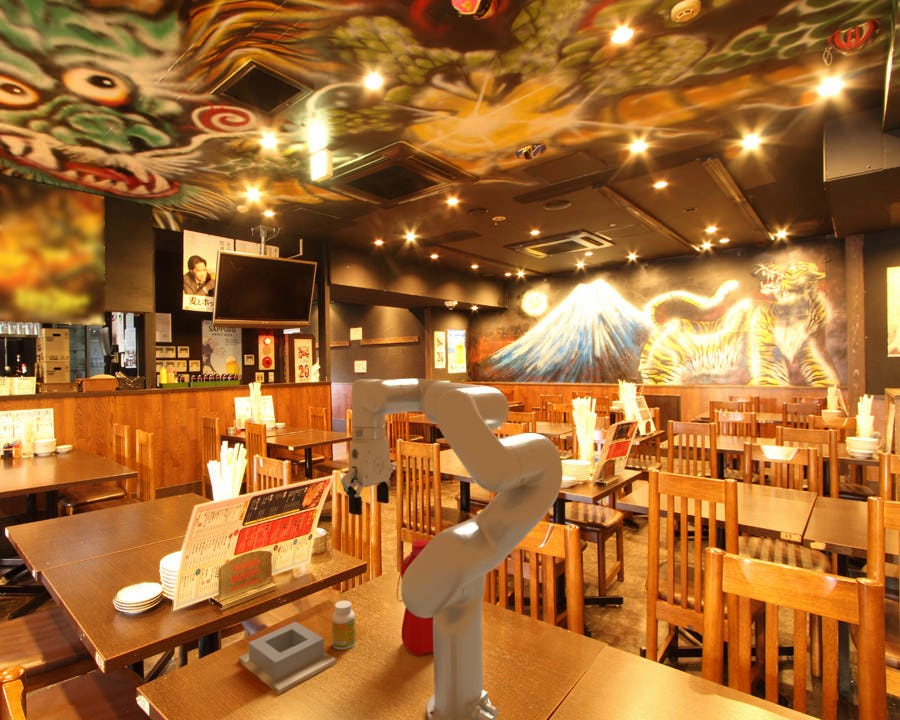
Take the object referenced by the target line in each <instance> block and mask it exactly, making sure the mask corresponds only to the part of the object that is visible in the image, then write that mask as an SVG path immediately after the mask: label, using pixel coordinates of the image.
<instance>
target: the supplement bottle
mask: <svg viewBox="0 0 900 720" xmlns="http://www.w3.org/2000/svg"><path fill="white" fill-rule="evenodd" d="M331 618H332V619H331V620H332V622H331V624H332V647H333V648H334V649H336V650H339V651H340V650H341V651H343V650H345V651H346V650H348V649H351V648H353V646H355V644H356V614H355V612H354V611H353V605H352V602H351V601H350V600H340V601H337V602H336V603H335V604H334V613H333V614H332V617H331Z"/></svg>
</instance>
